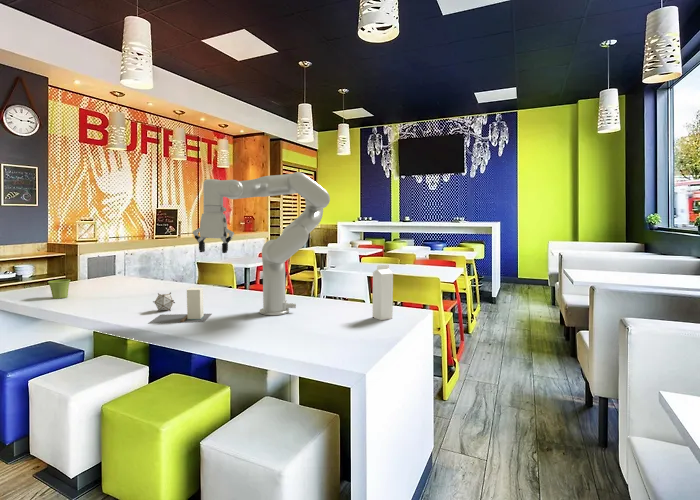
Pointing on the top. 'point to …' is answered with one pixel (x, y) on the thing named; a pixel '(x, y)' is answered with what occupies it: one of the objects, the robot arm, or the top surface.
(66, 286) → the plant pot
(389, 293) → the milk
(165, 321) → the mat
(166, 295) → the game die
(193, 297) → the cream block
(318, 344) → the top surface
